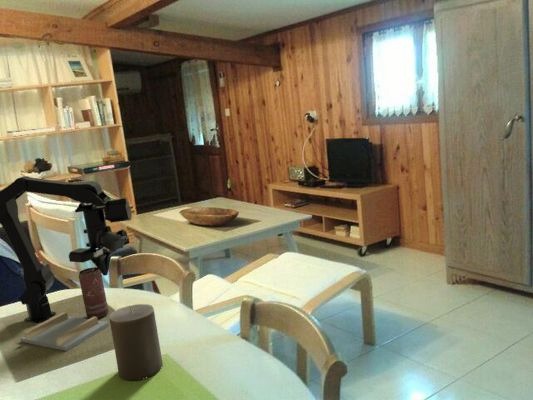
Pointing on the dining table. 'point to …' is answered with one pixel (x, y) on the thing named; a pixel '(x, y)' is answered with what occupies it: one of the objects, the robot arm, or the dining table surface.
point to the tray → (63, 331)
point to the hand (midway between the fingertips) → (105, 275)
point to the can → (93, 293)
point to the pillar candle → (136, 341)
